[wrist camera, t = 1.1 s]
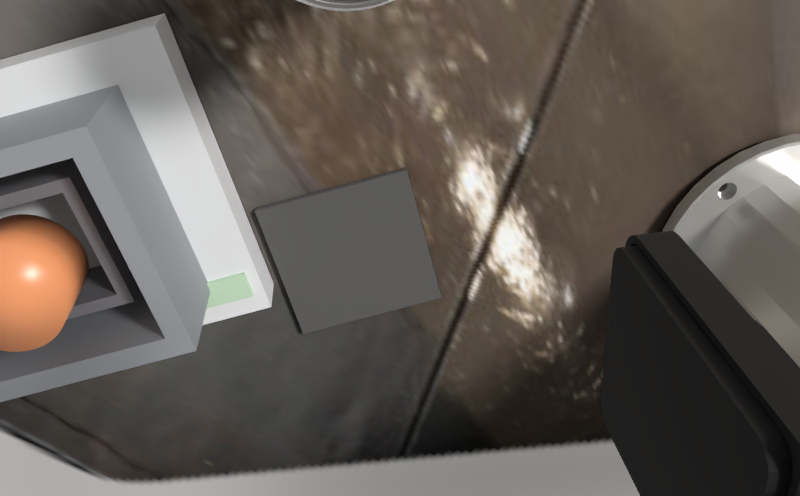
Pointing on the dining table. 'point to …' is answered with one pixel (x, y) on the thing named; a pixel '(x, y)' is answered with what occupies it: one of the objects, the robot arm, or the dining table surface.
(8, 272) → the button
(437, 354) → the dining table surface
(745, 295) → the robot arm
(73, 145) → the box
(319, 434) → the dining table surface
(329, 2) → the can
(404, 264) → the mat
